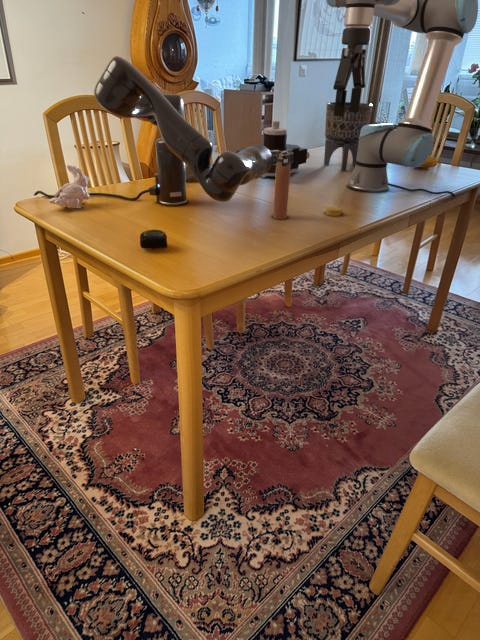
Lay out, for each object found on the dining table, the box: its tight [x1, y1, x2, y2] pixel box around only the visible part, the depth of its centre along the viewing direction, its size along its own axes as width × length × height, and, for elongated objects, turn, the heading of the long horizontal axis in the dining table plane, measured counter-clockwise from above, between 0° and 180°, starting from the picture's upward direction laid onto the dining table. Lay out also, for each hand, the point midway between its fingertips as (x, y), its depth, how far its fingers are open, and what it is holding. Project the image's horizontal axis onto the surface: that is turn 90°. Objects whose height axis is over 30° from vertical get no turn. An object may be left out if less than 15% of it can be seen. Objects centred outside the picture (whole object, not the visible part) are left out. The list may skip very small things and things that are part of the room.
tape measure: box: [139, 229, 168, 250], centre depth 117 cm, size 7×7×4 cm
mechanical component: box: [261, 120, 311, 178], centre depth 191 cm, size 22×21×30 cm
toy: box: [419, 155, 439, 169], centre depth 213 cm, size 11×6×15 cm
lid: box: [325, 205, 343, 217], centre depth 147 cm, size 5×5×2 cm
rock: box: [185, 164, 198, 183], centre depth 181 cm, size 13×9×6 cm, turn 131°
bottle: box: [272, 154, 291, 220], centre depth 138 cm, size 4×4×19 cm
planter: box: [323, 101, 374, 172], centre depth 204 cm, size 20×20×26 cm
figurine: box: [48, 164, 91, 209], centre depth 145 cm, size 8×15×13 cm, turn 145°
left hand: (273, 152), depth 124 cm, fingers open, 8 cm apart
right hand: (346, 114), depth 132 cm, fingers open, 13 cm apart
